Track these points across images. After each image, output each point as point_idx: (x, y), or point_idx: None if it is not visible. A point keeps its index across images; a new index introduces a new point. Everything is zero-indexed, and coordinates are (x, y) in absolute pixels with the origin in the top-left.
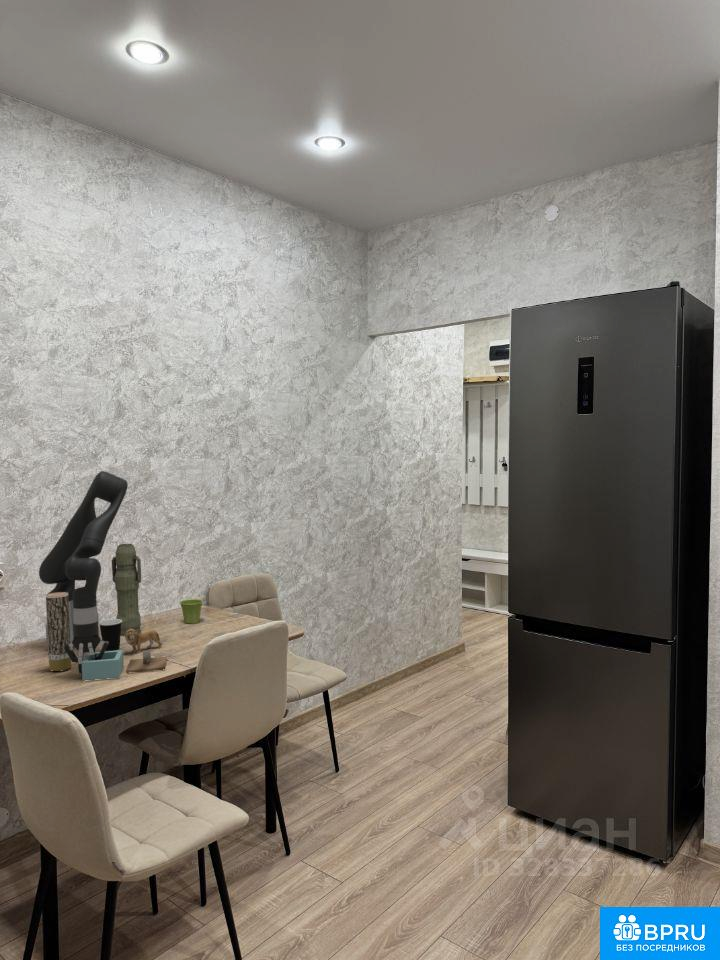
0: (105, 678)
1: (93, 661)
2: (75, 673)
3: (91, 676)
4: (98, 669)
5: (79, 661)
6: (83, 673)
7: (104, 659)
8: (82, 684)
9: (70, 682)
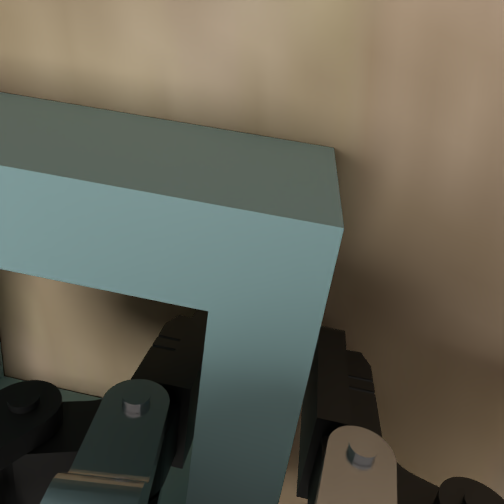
0: (61, 106)
1: (69, 202)
2: None
3: (211, 139)
4: (69, 132)
5: (368, 462)
6: (315, 164)
7: None
8: (338, 24)
9: (478, 190)
